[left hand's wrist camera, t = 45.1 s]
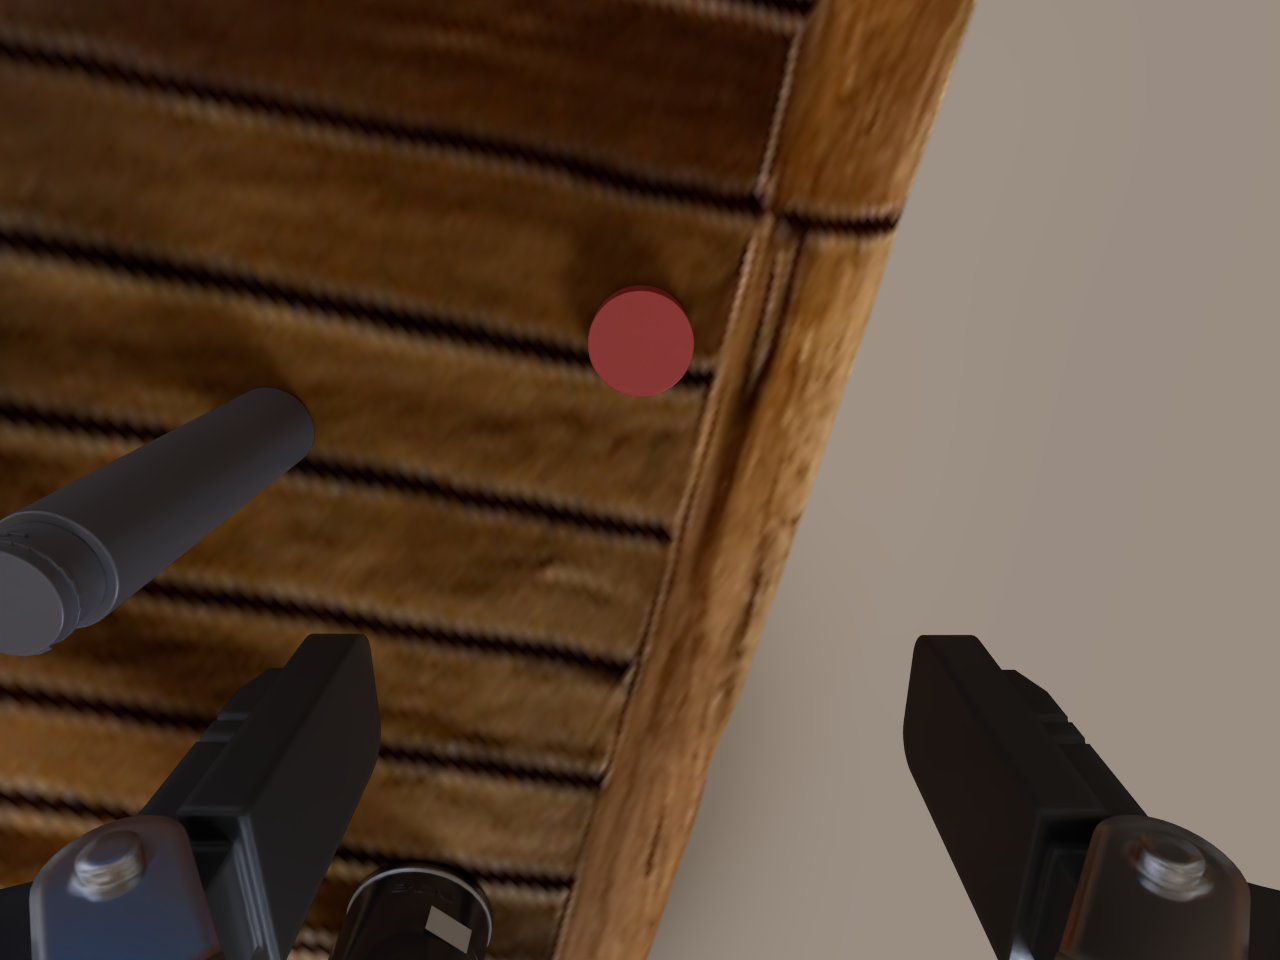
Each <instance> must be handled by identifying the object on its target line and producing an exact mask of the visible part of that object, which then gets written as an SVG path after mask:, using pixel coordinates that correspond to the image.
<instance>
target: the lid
mask: <svg viewBox="0 0 1280 960" xmlns="http://www.w3.org/2000/svg"><path fill="white" fill-rule="evenodd" d="M588 351H589V357H590V360H591V363H592V365H593V367H594V369H595V371H596V372H597V374H598V375H599V376H600V378H601V379H602V380H603V381H604V382H605V383H606V384H607V385H609V386H610V387H612V388H613V389H615V390H617V391H619V392H621V393H624V394H627V395H631V396H651V395H655V394H658V393H661V392H663V391H665V390H667V389H669V388H670V387H672V386H673V385H674V384H676V383H677V382H678V381H679V380H680V379H681V378H682V376H683V375H684V374H685V372H686V371H687V369H688V367H689V365H690V362H691V360H692V356H693V351H694V336H693V331H692V327H691V324H690V322H689V319H688V316H687V314H686V312H685V310H684V309H683V307H682V306H681V304H680V303H679V302H678V301H677V300H676V299H675V298H674V297H673V296H672V295H670V294H669V293H667V292H665V291H664V290H662V289H659V288H657V287H653V286H647V285H634V286H629V287H626V288H623V289H620V290H618V291H616V292H615V293H613V294H612V295H610V296H609V297H608V298H607V299H606V300H605V301H604V302H603V303H602V304H601V306H600V307H599V308H598V310H597V312H596V314H595V316H594V319H593V322H592V324H591V327H590V331H589V335H588Z"/></svg>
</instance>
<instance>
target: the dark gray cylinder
mask: <svg viewBox="0 0 1280 960" xmlns="http://www.w3.org/2000/svg"><path fill="white" fill-rule="evenodd" d="M313 441H314V425H313V421H312V419H311V416H310V414H309V412H308V411H307V409H306V408H305V406H304V405H303V404H302V403H301V402H300V401H299V400H298V399H297V398H295V397H294V396H293V395H291V394H289V393H287V392H285V391H283V390H280V389H276V388H270V387H262V388H256V389H253V390H250V391H248V392H246V393H244V394H242V395H240V396H238V397H237V398H235V399H233V400H231V401H229V402H227V403H225V404H223V405H221V406H219V407H217V408H215V409H213V410H211V411H209V412H208V413H206V414H204V415H202V416H200V417H198V418H196V419H194V420H192V421H190V422H188V423H186V424H184V425H182V426H181V427H179V428H177V429H175V430H173V431H171V432H169V433H167V434H165V435H163V436H161V437H159V438H157V439H155V440H154V441H152V442H150V443H148V444H146V445H144V446H142V447H140V448H138V449H136V450H134V451H132V452H130V453H128V454H126V455H125V456H123V457H121V458H119V459H117V460H115V461H113V462H111V463H109V464H107V465H105V466H103V467H101V468H99V469H98V470H96V471H94V472H92V473H90V474H88V475H86V476H84V477H82V478H80V479H78V480H76V481H74V482H72V483H70V484H69V485H67V486H65V487H63V488H61V489H59V490H57V491H55V492H53V493H51V494H49V495H47V496H45V497H43V498H42V499H40V500H38V501H36V502H34V503H32V504H30V505H28V506H26V507H24V508H22V509H20V510H18V511H16V512H14V513H13V514H11V515H9V516H7V517H5V518H3V519H2V520H0V653H4V654H7V655H19V656H22V657H23V656H30V655H39V654H41V653H44V652H46V651H48V650H51V649H52V648H53V647H54V646H53V644H55V643H57V642H60V641H62V640H64V639H65V638H66V637H67V636H69V635H70V634H71V633H72V632H73V631H75V629H77V628H82V627H87V626H90V625H93V624H95V623H97V622H99V621H100V620H102V619H103V618H104V617H106V616H107V615H108V614H109V613H111V612H112V611H113V610H114V609H116V608H117V607H118V606H119V605H121V604H122V603H123V602H124V601H126V600H127V599H128V598H129V597H131V596H132V595H133V594H134V593H136V592H137V591H138V590H139V589H141V588H142V587H143V586H144V585H146V584H147V583H148V582H149V581H151V580H152V579H153V578H154V577H156V576H157V575H158V574H159V573H161V572H162V571H163V570H164V569H166V568H167V567H168V566H169V565H171V564H172V563H173V562H174V561H176V560H177V559H178V558H179V557H181V556H182V555H183V554H184V553H186V552H187V551H188V550H189V549H191V548H192V547H193V546H194V545H196V544H197V543H198V542H199V541H201V540H202V539H203V538H204V537H206V536H207V535H208V534H209V533H211V532H212V531H213V530H214V529H216V528H217V527H218V526H219V525H221V524H222V523H223V522H224V521H226V520H227V519H228V518H229V517H231V516H232V515H233V514H234V513H236V512H237V511H238V510H239V509H241V508H242V507H243V506H244V505H246V504H247V503H248V502H249V501H251V500H252V499H253V498H254V497H256V496H257V495H258V494H259V493H261V492H262V491H263V490H264V489H265V488H267V487H268V486H269V485H270V484H272V483H273V482H274V481H275V480H277V479H278V478H279V477H280V476H282V475H283V474H284V473H285V472H287V471H288V470H289V469H290V468H292V467H293V466H294V465H295V464H297V463H298V462H299V461H300V460H302V459H303V458H304V457H305V456H306V455H307V454H308V452H309V451H310V449H311V447H312V444H313Z"/></svg>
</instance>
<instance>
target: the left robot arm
mask: <svg viewBox="0 0 1280 960" xmlns="http://www.w3.org/2000/svg"><path fill="white" fill-rule="evenodd" d="M380 738H381V724H380V715H379V708H378V701H377V693H376V686H375V679H374V671H373V664H372V657H371V650H370V645H369V641H368V639H367V637H366V636H365V635H364V634H310V635H309V636H307V637H306V639H305V640H304V641H303V642H302V644H301V645H300V646H299V648H298V649H297V651H296V652H295V653H294V655H293V656H292V657H291V659H290V660H289V661H288V663H287V664H286V665H285V667H284V668H270V669H268V670H267V671H265V672H264V673H262V674H261V675H259V676H258V677H256V678H255V679H254V680H252V681H251V682H249V683H248V684H246V685H245V686H243V687H242V688H240V689H239V690H238V691H237V692H236V693H235V694H234V696H233V697H232V698H231V699H230V701H229V702H228V703H227V704H226V706H225V707H224V708H223V709H222V711H221V712H220V713H219V714H218V719H217V720H214V721H213V722H212V723H211V724H210V726H209V727H208V728H207V729H206V731H205V732H204V733H203V734H202V736H201V740H200V742H196V743H195V744H194V745H193V747H192V748H191V749H190V750H189V752H188V753H187V754H186V755H185V757H184V758H183V759H182V760H181V762H180V763H179V764H178V765H177V767H176V768H175V769H174V770H173V772H172V773H171V774H170V775H169V777H168V778H167V779H166V780H165V782H164V783H163V784H162V785H161V787H160V788H159V789H158V790H157V792H156V793H155V794H154V795H153V797H152V798H151V799H150V800H149V802H148V803H147V804H146V805H145V807H144V808H143V809H142V810H141V812H140V813H139V814H138V815H137V816H133V817H128V818H124V819H120V820H116V821H114V822H111V823H108V824H105V825H103V826H100V827H98V828H96V829H93V830H91V831H89V832H88V833H86V834H84V835H82V836H80V837H78V838H77V839H75V840H74V841H72V842H71V843H69V844H68V845H66V846H65V847H64V848H63V849H61V850H60V851H59V852H57V853H56V854H55V855H54V856H53V857H52V858H51V859H50V860H49V861H48V862H47V863H46V864H45V865H44V867H43V868H42V869H41V870H40V871H39V873H38V875H37V876H36V878H35V880H34V881H32V882H29V883H25V884H21V885H16V886H12V887H8V888H4V889H0V960H286V959H287V957H288V955H289V953H290V951H291V948H292V946H293V944H294V942H295V940H296V938H297V935H298V933H299V931H300V929H301V927H302V924H303V922H304V920H305V918H306V916H307V914H308V911H309V909H310V907H311V905H312V903H313V900H314V898H315V896H316V894H317V892H318V890H319V887H320V885H321V883H322V881H323V879H324V877H325V874H326V872H327V870H328V868H329V866H330V863H331V861H332V859H333V857H334V855H335V853H336V850H337V848H338V846H339V844H340V842H341V839H342V837H343V835H344V833H345V831H346V829H347V826H348V824H349V822H350V820H351V818H352V815H353V813H354V811H355V809H356V807H357V805H358V802H359V800H360V798H361V796H362V794H363V791H364V789H365V787H366V785H367V783H368V781H369V778H370V776H371V774H372V772H373V770H374V767H375V765H376V761H377V758H378V753H379V747H380ZM903 740H904V749H905V755H906V759H907V763H908V766H909V769H910V771H911V773H912V776H913V778H914V780H915V782H916V784H917V786H918V788H919V791H920V793H921V795H922V797H923V799H924V801H925V803H926V806H927V808H928V810H929V812H930V814H931V816H932V819H933V821H934V823H935V825H936V827H937V829H938V832H939V834H940V836H941V838H942V840H943V842H944V844H945V847H946V849H947V851H948V853H949V855H950V857H951V860H952V862H953V864H954V866H955V868H956V870H957V872H958V875H959V877H960V879H961V881H962V883H963V885H964V888H965V890H966V892H967V894H968V896H969V898H970V900H971V903H972V905H973V907H974V909H975V911H976V913H977V916H978V918H979V920H980V922H981V924H982V926H983V928H984V931H985V933H986V935H987V937H988V939H989V941H990V944H991V946H992V948H993V950H994V952H995V954H996V956H997V959H998V960H1280V891H1279V890H1275V889H1271V888H1267V887H1262V886H1258V885H1255V884H1251V883H1248V882H1246V880H1245V878H1244V876H1243V875H1242V873H1241V871H1240V870H1239V869H1238V868H1237V867H1236V865H1235V864H1234V863H1233V862H1232V861H1231V860H1230V859H1229V858H1228V857H1227V856H1226V855H1225V854H1224V853H1223V852H1221V851H1220V850H1219V849H1217V848H1216V847H1215V846H1214V845H1212V844H1211V843H1209V842H1208V841H1206V840H1205V839H1203V838H1202V837H1200V836H1198V835H1196V834H1194V833H1192V832H1191V831H1189V830H1187V829H1184V828H1182V827H1180V826H1177V825H1175V824H1172V823H1169V822H1166V821H1164V820H1160V819H1156V818H1152V817H1148V816H1147V815H1146V813H1145V812H1144V811H1143V810H1142V808H1141V807H1140V806H1139V805H1138V804H1137V802H1136V801H1135V800H1134V799H1133V797H1132V796H1131V795H1130V794H1129V792H1128V791H1127V790H1126V789H1125V788H1124V786H1123V785H1122V784H1121V783H1120V781H1119V780H1118V779H1117V778H1116V776H1115V775H1114V774H1113V773H1112V771H1111V770H1110V769H1109V768H1108V766H1107V765H1106V764H1105V763H1104V762H1103V760H1102V759H1101V758H1100V757H1099V755H1098V754H1097V753H1096V752H1095V750H1094V749H1093V748H1092V747H1091V745H1090V744H1086V743H1085V738H1084V737H1083V736H1082V734H1081V733H1080V732H1079V731H1078V729H1077V728H1076V727H1075V726H1074V724H1073V723H1072V722H1068V717H1067V716H1066V715H1065V713H1064V712H1063V711H1062V710H1061V708H1060V707H1059V706H1058V705H1057V703H1056V702H1055V701H1054V700H1053V698H1052V697H1051V696H1050V695H1049V694H1048V692H1047V691H1045V690H1044V689H1042V688H1041V687H1039V686H1038V685H1036V684H1035V683H1033V682H1032V681H1030V680H1029V679H1027V678H1026V677H1025V676H1023V675H1021V674H1020V673H1019V672H1017V671H1016V670H1001V668H1000V667H999V666H998V664H997V663H996V662H995V660H994V659H993V658H992V656H991V655H990V654H989V652H988V651H987V650H986V648H985V647H984V646H983V644H982V643H981V642H980V640H979V639H978V638H977V637H975V636H973V635H921V636H920V637H919V638H918V639H917V641H916V643H915V647H914V652H913V659H912V666H911V673H910V681H909V688H908V695H907V702H906V709H905V717H904V725H903ZM492 928H493V915H492V910H491V907H490V904H489V902H488V900H487V898H486V897H485V895H484V894H483V892H482V891H481V890H480V889H479V888H478V887H477V886H476V885H475V884H474V883H473V882H472V881H470V880H469V879H468V878H466V877H464V876H463V875H461V874H459V873H457V872H455V871H453V870H451V869H448V868H445V867H442V866H438V865H434V864H429V863H416V862H412V863H401V864H395V865H391V866H388V867H385V868H382V869H380V870H378V871H376V872H374V873H372V874H371V875H369V876H368V877H367V878H365V879H364V880H363V881H362V882H361V883H360V884H359V886H358V887H357V888H356V890H355V892H354V894H353V896H352V898H351V901H350V903H349V906H348V909H347V914H346V917H345V920H344V922H343V925H342V927H341V930H340V932H339V934H338V937H337V939H336V942H335V944H334V947H333V949H332V951H331V953H330V956H329V958H328V960H485V955H486V950H487V946H488V944H489V941H490V937H491V933H492Z"/></svg>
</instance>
